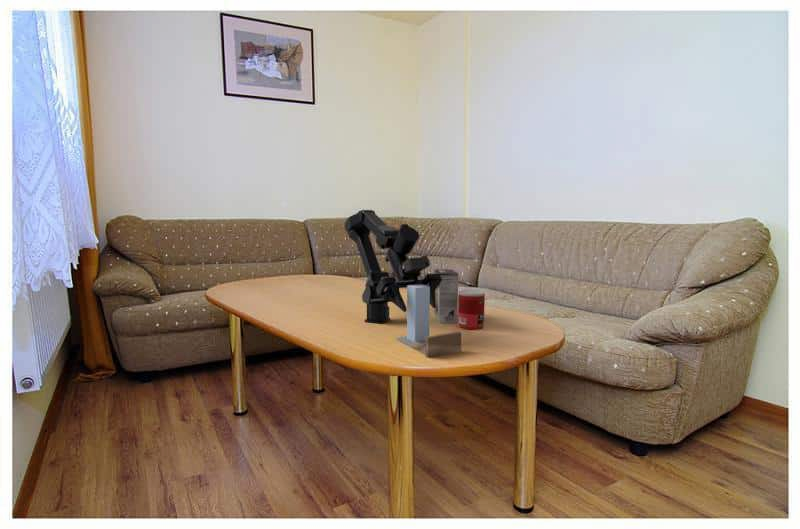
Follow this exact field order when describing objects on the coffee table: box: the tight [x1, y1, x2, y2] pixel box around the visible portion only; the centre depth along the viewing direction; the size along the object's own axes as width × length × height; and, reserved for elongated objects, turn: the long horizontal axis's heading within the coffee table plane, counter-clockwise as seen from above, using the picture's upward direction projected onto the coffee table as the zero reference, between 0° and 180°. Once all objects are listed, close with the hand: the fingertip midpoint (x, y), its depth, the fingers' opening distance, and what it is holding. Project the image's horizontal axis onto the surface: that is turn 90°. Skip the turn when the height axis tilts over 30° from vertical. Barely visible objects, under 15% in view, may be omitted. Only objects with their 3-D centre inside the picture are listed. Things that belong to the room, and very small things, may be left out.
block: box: [406, 284, 431, 342], centre depth 129 cm, size 4×4×15 cm
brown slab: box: [411, 331, 462, 358], centre depth 122 cm, size 9×10×5 cm
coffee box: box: [434, 268, 459, 324], centre depth 153 cm, size 9×6×16 cm
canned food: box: [457, 289, 486, 331], centre depth 144 cm, size 8×8×11 cm
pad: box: [396, 335, 425, 348], centre depth 130 cm, size 9×9×1 cm
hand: (420, 309), depth 128 cm, fingers open, 9 cm apart
